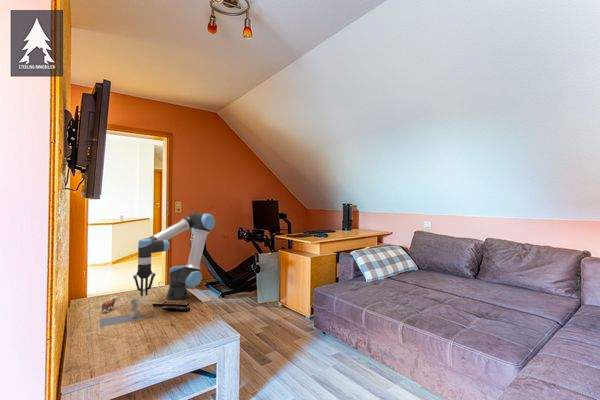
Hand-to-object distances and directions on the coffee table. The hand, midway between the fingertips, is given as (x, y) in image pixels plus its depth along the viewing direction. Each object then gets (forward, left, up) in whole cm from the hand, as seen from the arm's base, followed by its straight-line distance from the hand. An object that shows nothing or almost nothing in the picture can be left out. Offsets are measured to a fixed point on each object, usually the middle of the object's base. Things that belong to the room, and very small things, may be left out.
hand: (143, 300), depth 188 cm
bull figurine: (+18, -20, -10) cm, 29 cm away
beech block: (+5, 0, -9) cm, 10 cm away
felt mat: (+12, 0, -10) cm, 15 cm away
